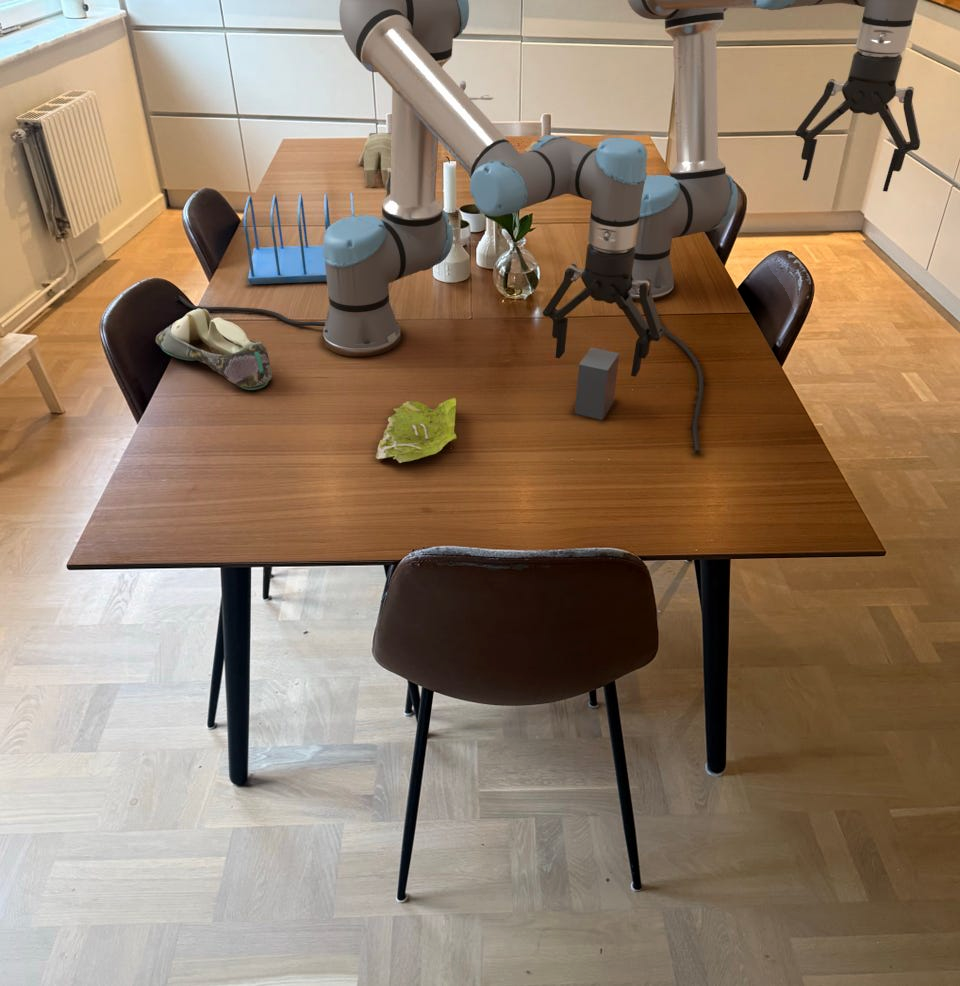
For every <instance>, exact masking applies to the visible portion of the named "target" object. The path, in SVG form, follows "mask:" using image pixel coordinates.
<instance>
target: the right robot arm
mask: <svg viewBox="0 0 960 986" xmlns="http://www.w3.org/2000/svg"><path fill="white" fill-rule="evenodd" d="M918 1H919V0H627V2H628V5H629V7H630V8H631V10H632V11H633V12H634V13H635V14H636V15H638V16H640V17H642V18H644V19H647V20H654V21H655V20H664V31H665V33H666V34H668V36H670V38H671V39H672V47H673V49H672V50H673V77H674V78H673V79H674V82H673V83H674V110H675V112H674V113H675V114H674V115H675V140H676V141H675V143H676V145H675V146H676V163H675V165H674V166H673V167H672V168H671V170H670V172H669V175H666V174H655V175H653V174H647V175H646V180H645V183H644V189H643V194H642V201H641V207H640V216H639V225H638V233H637V241H636V245H635V246H634V248H635V255H634V262H633V270H632V277H633V280H639V281H644V280H645V279H647V278H648V279H650V281H651V295H652V298H653V301H654V302H655V301H659V300H662V299H665V298H667V297H669V296H671V294H672V293H673V291H674V286H675V278H674V273H673V267H672V263H671V258H670V257H671V248H672V242H673V239H677V238H681V237H685V236H690V235H696V234H699V233H709V232H712V231H713V230H716V229H719V228H722V227H723V226H725V225H726V224H728V222H729V220H731V218H732V217H733V216H734V214H735V212H736V208H737V205H738V201H739V200H738V195H739V193H738V187H737V184H736V183H735V182H734V181H735V180H734V178H733V177H732V176H731V175H730V174H728V173H727V171H726V170H727V169H726V166H727V165H726V163H724V162H723V161H722V160H721V159H720V157H719V133H718V131H719V126H718V124H719V123H718V122H719V121H718V66H717V63H718V60H717V56H718V55H717V32H718V31H719V29H721V26H722V25H723V24H724V22H725V12H727V10H729V9H761V10H767V11H768V10H769V11H778V10H784V9H791V8H799V7H800V8H801V7H811V6H824V5H834V4H844V5H845V4H846V5H852V6H859V7H861V8H864V11H863V14H862V18H861V22H860V26H859V30H858V35H857V40H856V43H855V48H856V49H857V51H855V52H854V53H853V56H852V60H851V64H850V68H849V73H848V76H847V79H846V81H845V83H844V82H839V81H836V80H835V79H834V78H831V79H829V80H828V81H827V83H826V85H825V88H824V91H823V94H822V95H821V97H820V98H819V99H818V101H817V102H816V103H815V105H813V107H812V109H811V110H810V111H809V113H808V114H807V115H806V116H805V117H804V119H803V121H802V122H801V123H800V125H799V126H798V127H797V129H796V130H795V136H796V137H798V138H801V139H803V141H804V142H803V147H802V151H801V160H805V161H806V163H805V168H804V171H803V176H802V181H804V182H805V181H808V180H809V177H810V173H811V169H812V164H813V160H814V156H815V152H816V148H817V143H818V139H817V138H816V137H818V135H819V134H821V133H822V132H823V131H825V130H826V129H827V128H828V127H829V126H831V125H832V123H833V124H834V122H835V121H836V120H838V119H839V118H841V116H842V115H844V114H845V113H846V112H848V110H850V111H851V112H852V113H853V114H863V113H864V114H866V115H868V116H873V115H876V114H877V113H878V115H879V117H880V118H881V119H882V121H883V123H884V125H885V127H886V129H887V131H888V133H889V134H890V136H891V138H892V140H893V142H894V144H895V146H896V148H894V149H893V153H892V156H891V160H890V163H889V167H888V171H887V173H886V177H885V181H884V185H883V189H882V192H887V193H888V192H889V191H888V190H889V186H890V183H891V181H892V178H893V177H892V176H893V173H894V172H897V173H898V172H899V173H900V171H901V170H902V168H903V164H904V161H905V157H906V154H907V153H908V152H912V151H918V149H920V146H921V138H920V134H919V130H918V129H919V128H918V124H917V119H916V114H915V109H914V104H913V98H914V92H915V88H914V87H913V86H908V87H907V88H897V87H896V83H897V79H898V76H899V72H900V68H901V65H902V60H903V57H902V55H901V54H902V53H904V52H905V50H906V48H907V47H906V46H907V43H908V40H909V39H908V38H909V36H910V32H911V28H912V25H913V24H912V23H913V18H914V14H915V10H916V8H917V4H918ZM839 92H841V93H842V95H843V98H844V101H842V103H840V104H839V105H838V106H837V107H836V108H834V110H832V111H831V112H830V113H829V114H828V115H826V116H825V117H824V118H823V119H822V120H821V121H820V122H819V123H817V124H816V125H814V126H813V127H812V128H811V129H810V130H809V129H808V128H809V126H810V125H811V124H812V122H813V121H814V120H815V118H816V117H817V116H818V115H819V113H820V112H821V110H822V109H823V108H824V106H825V105H826V104H827V103H828V101H829V99H830V98H831V97H835V96H836V95H837V94H838V93H839ZM895 97H896V98H897V99H898V102H899V103H901V104H903V105H902V106H903V112H904V119H905V123H906V127H907V133H908V136H909V141H907V140H906V138H905V135H904V134H903V132H902V130H901V128H900V127H899V124H898V123H897V121H896V119H895V117H894V115H893V113H892V111H891V109H890V107H889V103H890V102H891V101H892V100H893V99H894V98H895ZM628 292H629V293H630V295H631V296H632V300H633V302H640V299H639V295H637V294H636V291H635V289H633V288H631V289H630V290H629V291H628ZM622 298H623V297H622ZM661 325H662V328H663V331H664V333H663V334H665V335H666V336H667V337H668V338H669V339H670V340H672V341H673V342H674V343H675V344H677V345H678V346H679V347H680V348H681V349H682V350H683V352H685V353H686V354H687V356H688V357H689V358H690V360H691V361H692V363H693V365H694V366H695V369H696V372H697V376H698V392H697V398H696V404H695V409H694V414H693V419H692V430H691V431H692V440H693V441H692V442H693V448H694V453H695V454H696V455H699V454H701V447H700V443H699V435H698V434H699V433H698V422H699V417H700V411H701V406H702V402H703V401H702V400H703V397H704V388H705V387H704V376H703V371H702V368H701V365H700V363H699V362H698V360H697V359H698V358H697V357H696V356H695V355H694V353H693V352H692V351H691V350H690V349H689V347H688V346H686V345H685V343H684V342H683V341H681V340H680V339H678V337H676V336H675V335H674V334H672V333H671V332H670V331H669V330H668V329H667V328H666V327H665V326H664V325H663V323H661Z"/></svg>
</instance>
